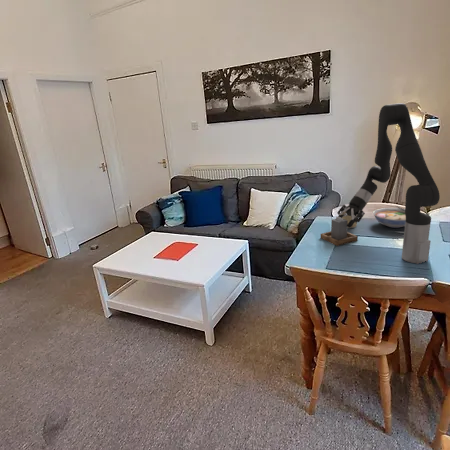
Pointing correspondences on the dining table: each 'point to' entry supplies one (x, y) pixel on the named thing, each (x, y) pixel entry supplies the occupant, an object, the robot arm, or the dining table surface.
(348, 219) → the coffee cup
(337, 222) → the grey rectangular block
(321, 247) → the dining table surface
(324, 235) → the tray
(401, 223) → the ramen bowl
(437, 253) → the dining table surface
